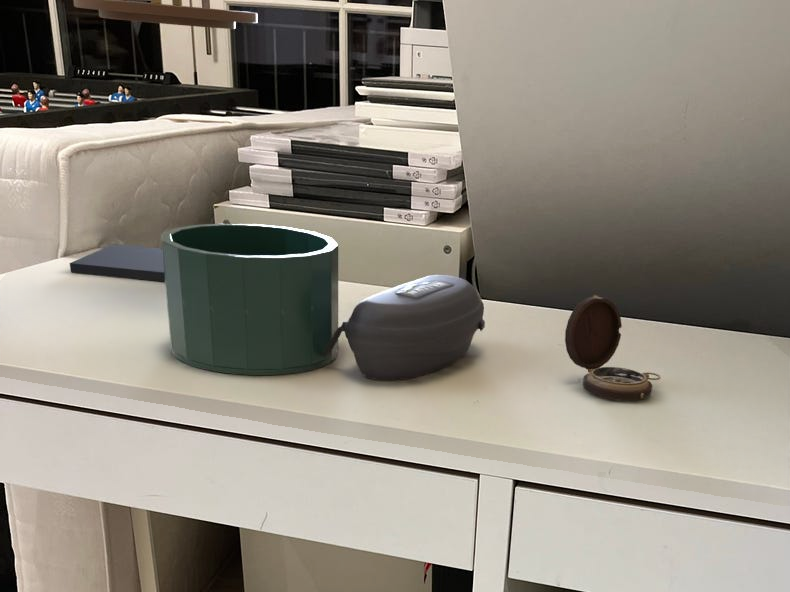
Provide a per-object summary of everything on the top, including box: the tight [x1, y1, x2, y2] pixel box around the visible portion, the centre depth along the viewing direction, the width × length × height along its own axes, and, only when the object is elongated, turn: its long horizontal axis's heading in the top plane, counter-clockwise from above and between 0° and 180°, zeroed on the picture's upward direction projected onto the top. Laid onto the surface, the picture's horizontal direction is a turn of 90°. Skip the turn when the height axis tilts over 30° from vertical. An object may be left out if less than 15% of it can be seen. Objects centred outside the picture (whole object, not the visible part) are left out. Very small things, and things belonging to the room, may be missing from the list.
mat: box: [69, 243, 165, 283], centre depth 113 cm, size 12×12×1 cm
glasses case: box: [324, 274, 486, 381], centre depth 88 cm, size 18×10×8 cm, turn 154°
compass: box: [564, 295, 661, 401], centre depth 86 cm, size 8×8×7 cm
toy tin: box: [160, 223, 339, 376], centre depth 86 cm, size 15×15×10 cm
